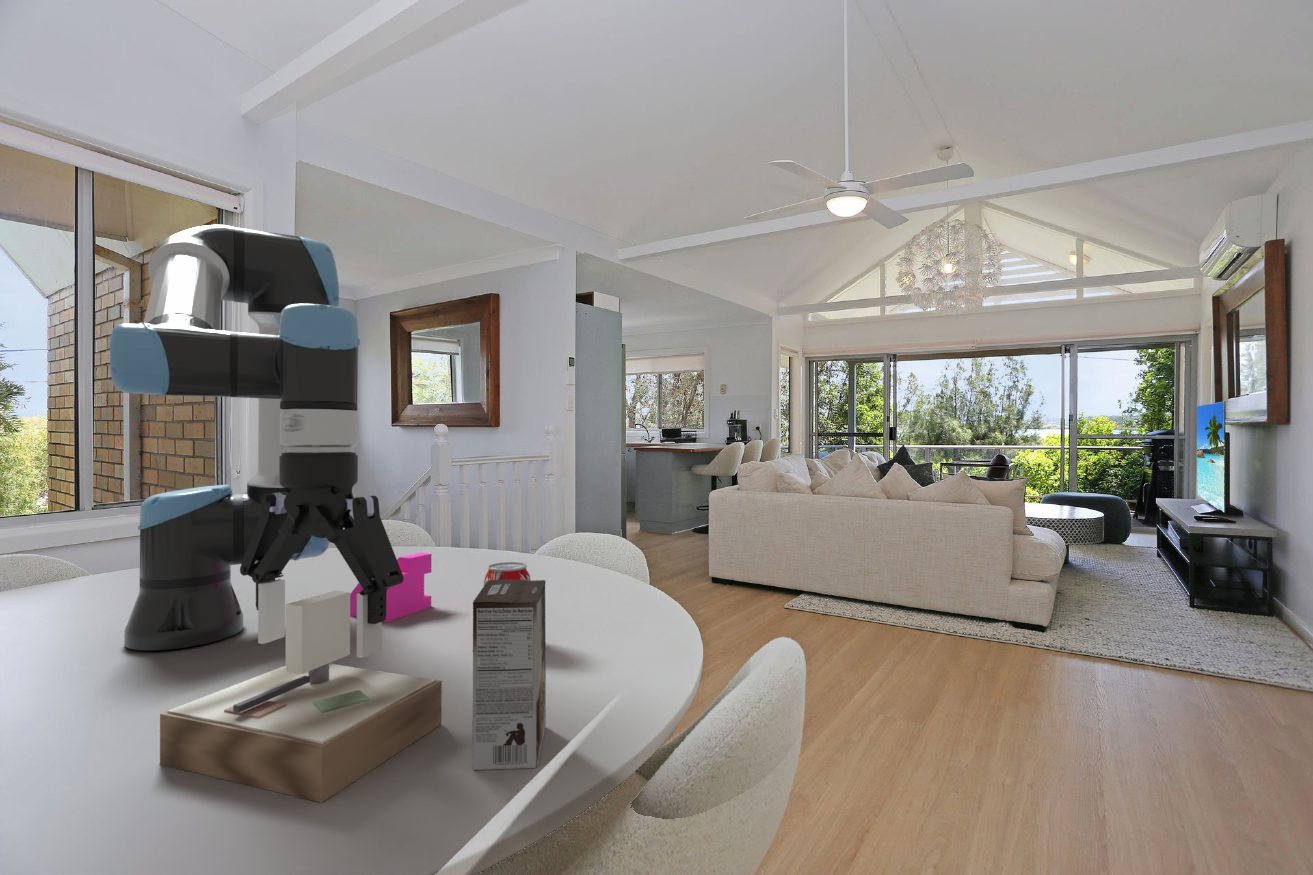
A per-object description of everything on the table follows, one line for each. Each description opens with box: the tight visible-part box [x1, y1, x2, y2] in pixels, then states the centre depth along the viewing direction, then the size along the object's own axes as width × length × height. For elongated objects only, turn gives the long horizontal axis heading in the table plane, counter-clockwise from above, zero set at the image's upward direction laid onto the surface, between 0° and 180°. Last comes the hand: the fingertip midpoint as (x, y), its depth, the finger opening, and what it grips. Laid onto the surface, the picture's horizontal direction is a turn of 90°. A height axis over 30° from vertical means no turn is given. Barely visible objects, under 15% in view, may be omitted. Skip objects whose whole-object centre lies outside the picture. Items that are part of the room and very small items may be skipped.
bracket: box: [350, 552, 432, 623], centre depth 116 cm, size 12×10×10 cm
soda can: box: [483, 561, 532, 586], centre depth 98 cm, size 7×7×12 cm
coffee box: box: [472, 579, 547, 771], centre depth 65 cm, size 9×6×16 cm
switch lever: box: [233, 590, 351, 712], centre depth 66 cm, size 2×13×9 cm, turn 161°
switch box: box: [159, 663, 443, 804], centre depth 66 cm, size 20×16×5 cm
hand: (319, 646), depth 69 cm, fingers open, 13 cm apart
